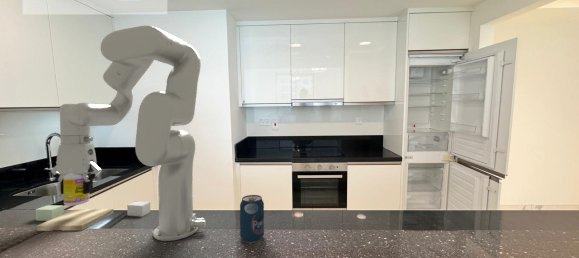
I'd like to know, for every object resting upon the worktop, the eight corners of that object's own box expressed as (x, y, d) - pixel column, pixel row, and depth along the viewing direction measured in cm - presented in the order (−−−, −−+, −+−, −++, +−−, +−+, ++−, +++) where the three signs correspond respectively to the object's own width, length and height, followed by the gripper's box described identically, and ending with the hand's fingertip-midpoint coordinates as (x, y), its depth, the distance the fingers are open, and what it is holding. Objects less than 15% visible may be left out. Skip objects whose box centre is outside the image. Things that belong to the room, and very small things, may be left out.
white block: (150, 212, 90) (150, 202, 90) (142, 216, 86) (142, 205, 86) (135, 211, 91) (135, 201, 91) (127, 215, 87) (127, 205, 87)
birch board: (113, 213, 89) (113, 209, 89) (82, 230, 75) (82, 225, 75) (74, 213, 89) (74, 209, 89) (35, 230, 75) (35, 226, 75)
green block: (63, 216, 86) (63, 205, 86) (52, 221, 82) (51, 209, 82) (48, 216, 87) (47, 205, 86) (35, 220, 83) (35, 209, 82)
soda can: (258, 245, 66) (257, 202, 66) (235, 242, 68) (235, 200, 68) (267, 234, 73) (267, 195, 72) (246, 231, 75) (246, 193, 74)
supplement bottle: (74, 207, 78) (73, 168, 77) (58, 205, 79) (57, 167, 79) (94, 200, 84) (94, 164, 84) (79, 199, 86) (78, 163, 85)
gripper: (110, 139, 85) (110, 189, 86) (59, 139, 84) (60, 189, 85) (93, 141, 78) (94, 196, 78) (37, 141, 77) (39, 196, 77)
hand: (77, 192), depth 82 cm, fingers closed on supplement bottle, 6 cm apart
